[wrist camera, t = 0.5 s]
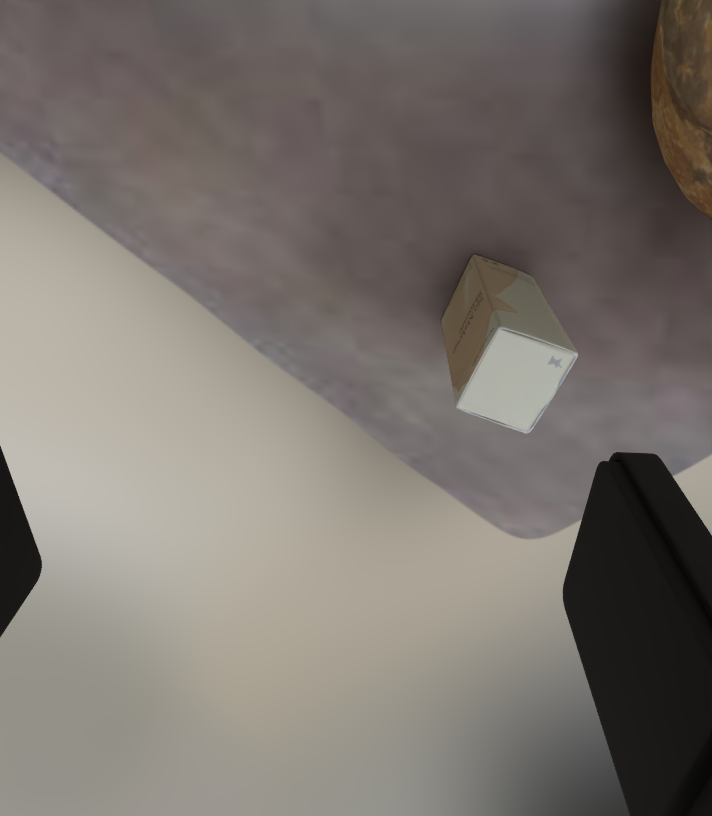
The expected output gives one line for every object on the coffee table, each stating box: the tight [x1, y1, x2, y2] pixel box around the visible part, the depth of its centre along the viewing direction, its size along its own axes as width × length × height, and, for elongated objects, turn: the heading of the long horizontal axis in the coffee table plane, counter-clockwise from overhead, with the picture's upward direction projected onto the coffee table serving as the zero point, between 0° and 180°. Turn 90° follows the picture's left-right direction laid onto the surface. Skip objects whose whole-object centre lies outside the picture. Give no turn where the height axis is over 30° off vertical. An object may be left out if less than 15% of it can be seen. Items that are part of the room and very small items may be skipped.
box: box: [441, 255, 578, 433], centre depth 33 cm, size 5×4×11 cm
